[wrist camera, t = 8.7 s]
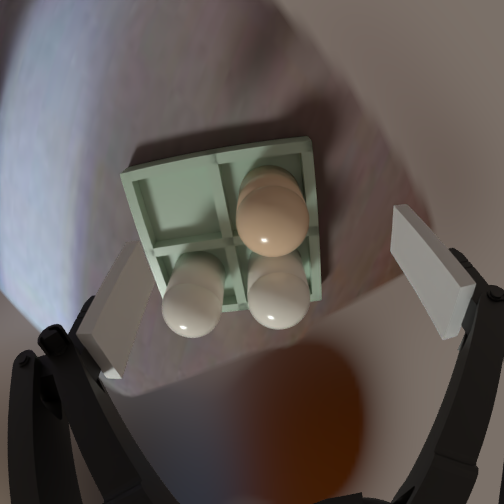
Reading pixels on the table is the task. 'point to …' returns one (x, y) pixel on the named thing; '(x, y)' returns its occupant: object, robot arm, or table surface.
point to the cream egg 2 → (277, 289)
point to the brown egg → (271, 212)
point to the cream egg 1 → (194, 294)
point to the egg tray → (215, 209)
